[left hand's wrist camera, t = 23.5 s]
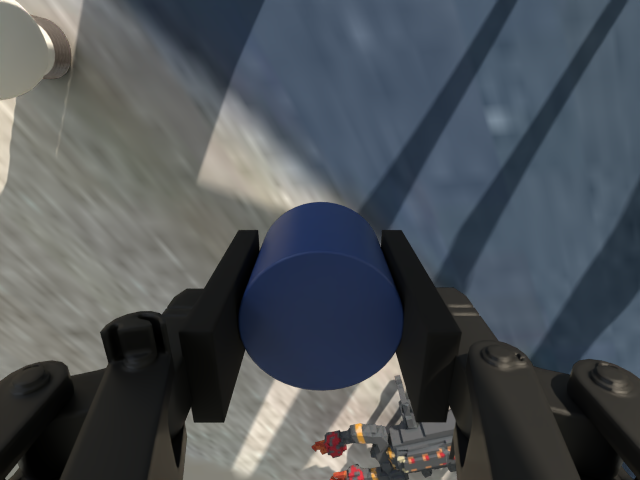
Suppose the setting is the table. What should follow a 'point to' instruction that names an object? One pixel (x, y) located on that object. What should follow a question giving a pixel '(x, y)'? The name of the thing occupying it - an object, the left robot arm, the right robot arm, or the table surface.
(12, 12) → the light bulb
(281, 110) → the table surface
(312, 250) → the can
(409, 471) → the toy
